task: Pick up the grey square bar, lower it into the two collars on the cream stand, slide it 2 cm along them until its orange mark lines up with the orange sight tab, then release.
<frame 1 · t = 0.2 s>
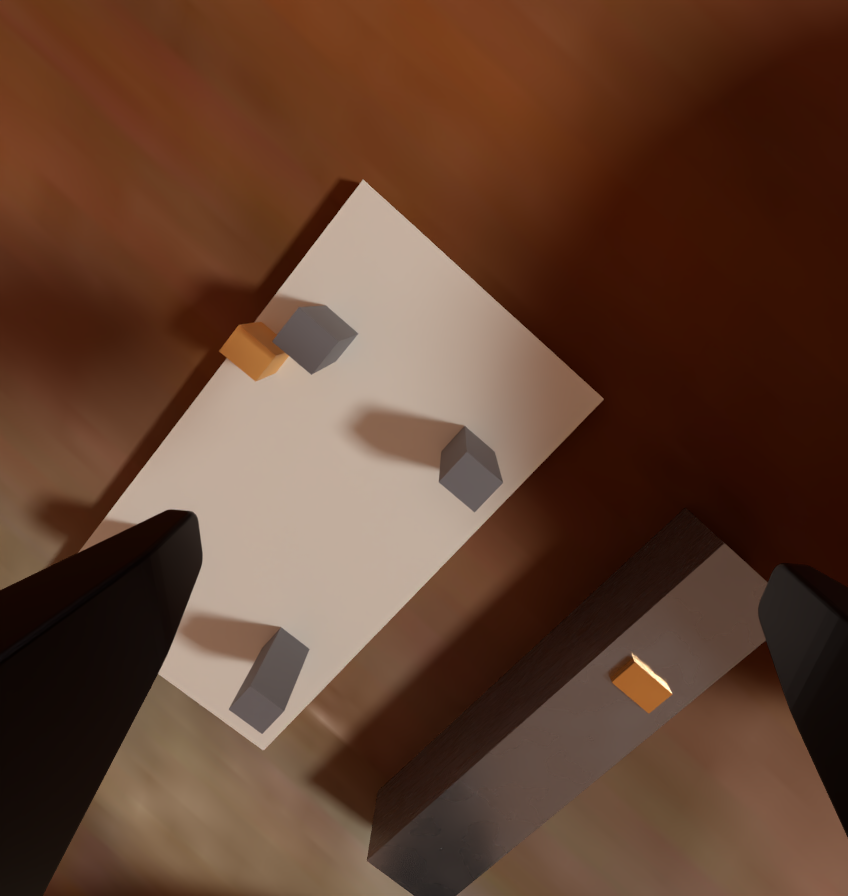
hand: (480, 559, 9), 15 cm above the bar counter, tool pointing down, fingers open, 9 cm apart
grey square bar: (549, 682, 27), on the bar counter
collar stand: (312, 494, 25), on the bar counter
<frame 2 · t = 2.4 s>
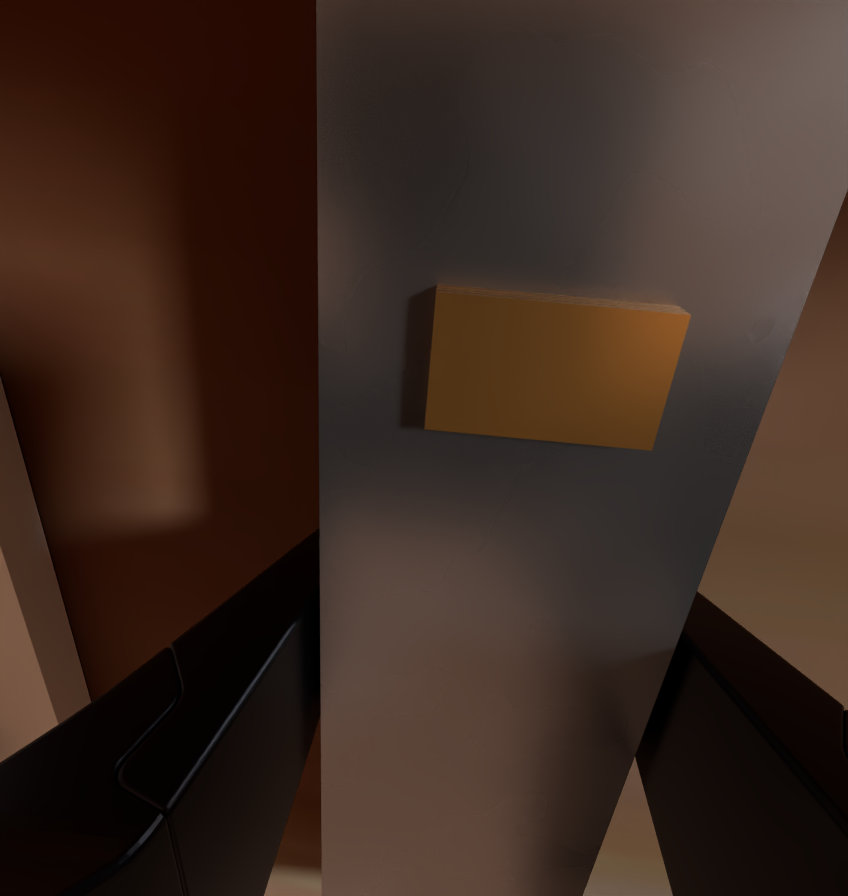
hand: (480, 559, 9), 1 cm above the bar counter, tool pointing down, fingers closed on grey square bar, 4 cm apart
grey square bar: (478, 502, 11), on the bar counter, touching gripper
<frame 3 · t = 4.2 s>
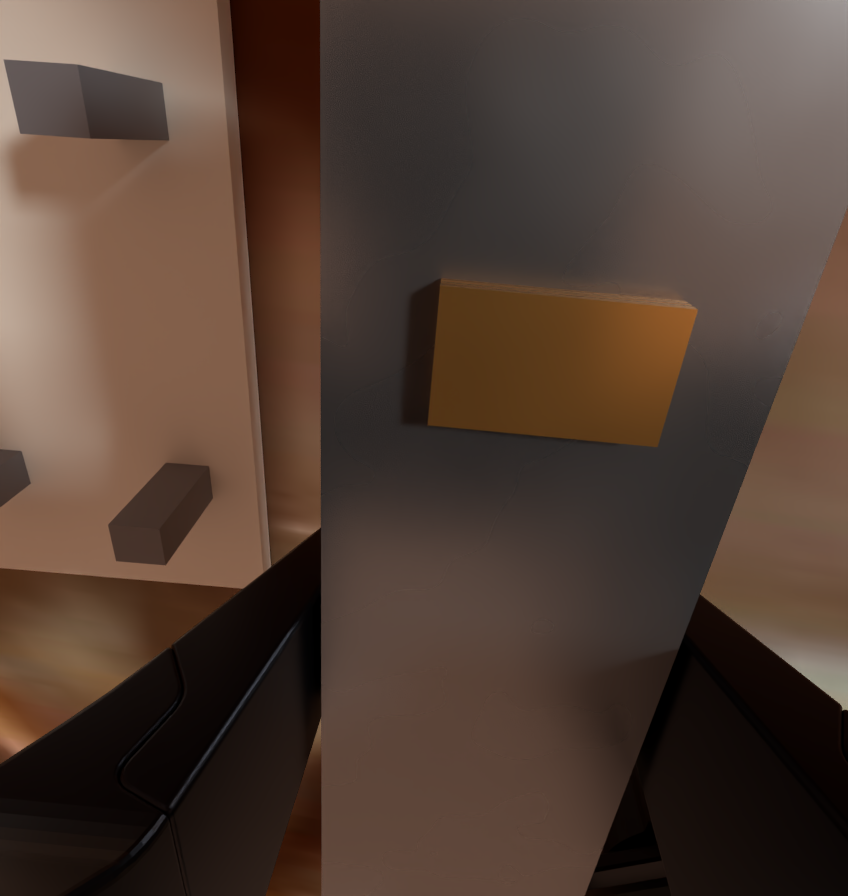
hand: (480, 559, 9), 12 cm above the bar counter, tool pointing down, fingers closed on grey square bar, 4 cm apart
grey square bar: (479, 501, 10), point 10 cm above the bar counter, touching gripper
collar stand: (79, 306, 20), on the bar counter
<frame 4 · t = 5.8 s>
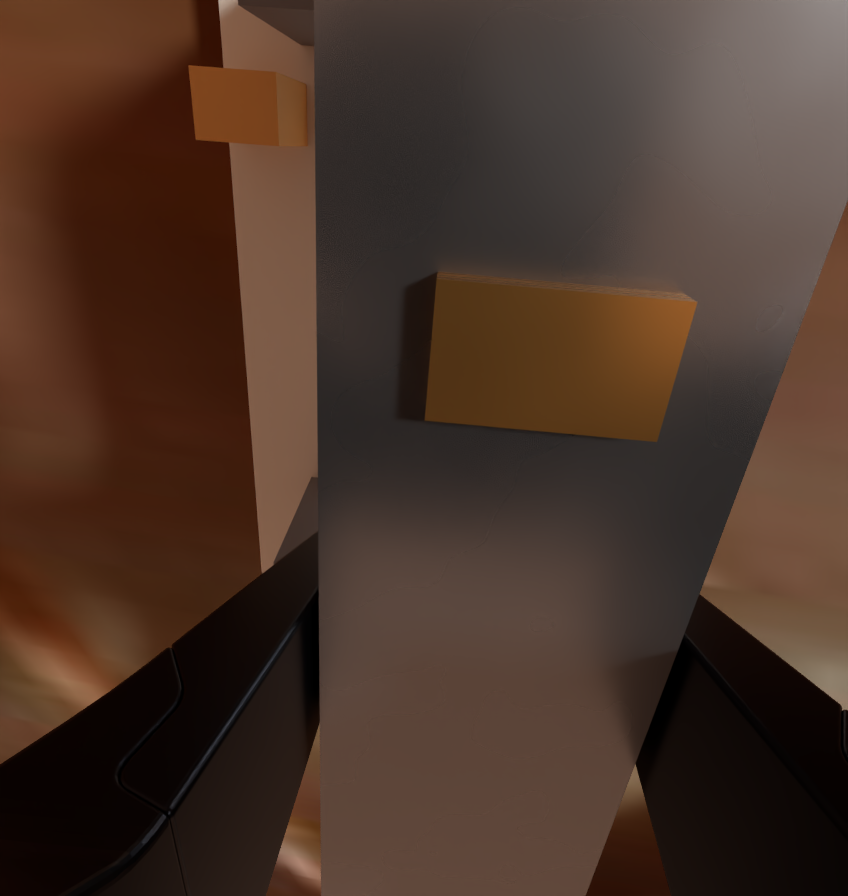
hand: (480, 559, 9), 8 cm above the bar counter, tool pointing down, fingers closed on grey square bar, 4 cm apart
grey square bar: (479, 499, 10), point 7 cm above the bar counter, touching gripper
collar stand: (475, 300, 16), on the bar counter
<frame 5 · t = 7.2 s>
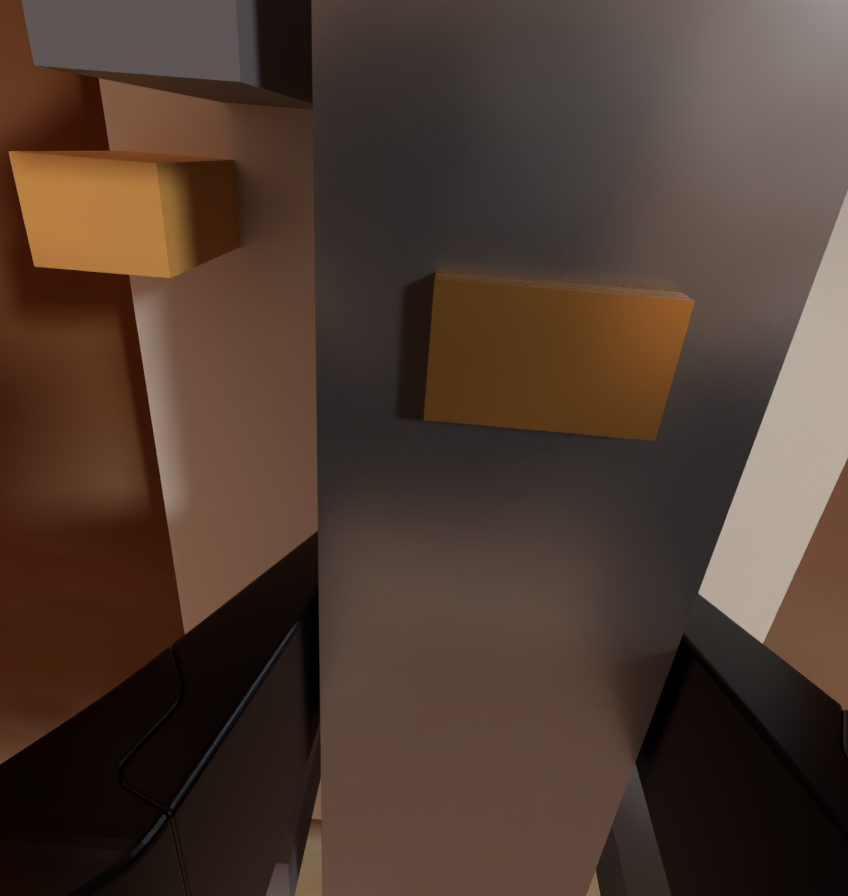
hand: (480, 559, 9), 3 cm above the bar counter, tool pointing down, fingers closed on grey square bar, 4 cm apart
grey square bar: (479, 498, 10), point 1 cm above the bar counter, touching gripper
collar stand: (486, 441, 11), on the bar counter
when the fingers open (3 cm above the bar counter, at t = 8.3 s): grey square bar stays where it is, resting on collar stand.
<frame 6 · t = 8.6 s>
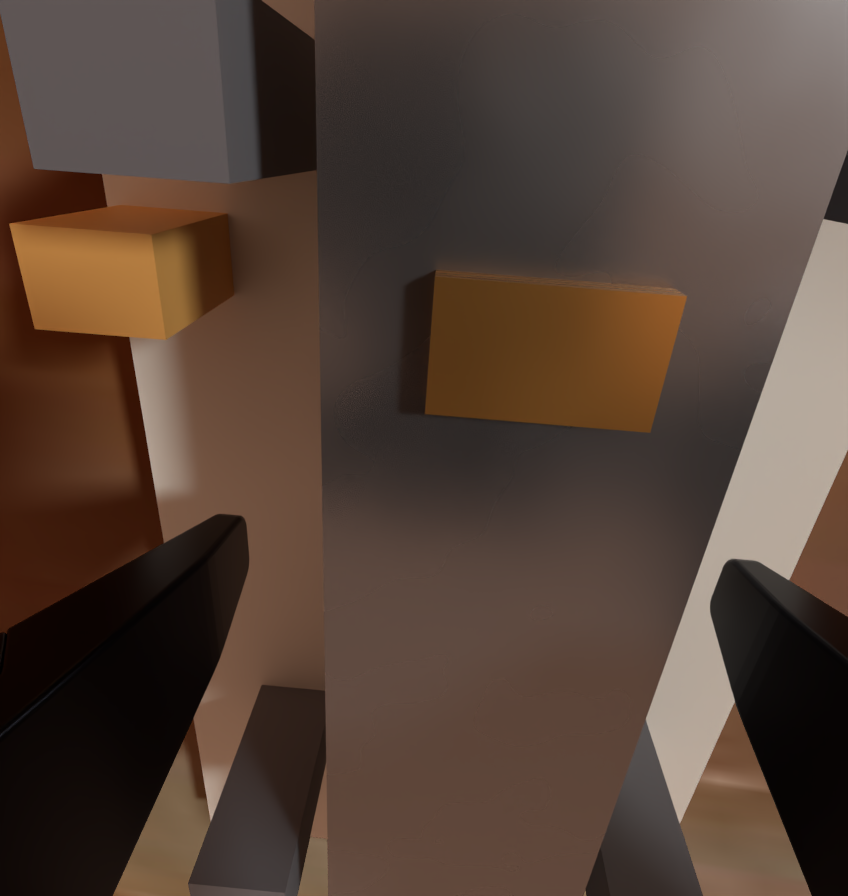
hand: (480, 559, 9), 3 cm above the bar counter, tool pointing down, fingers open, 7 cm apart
grey square bar: (480, 494, 11), point 1 cm above the bar counter, touching collar stand
collar stand: (477, 474, 12), on the bar counter
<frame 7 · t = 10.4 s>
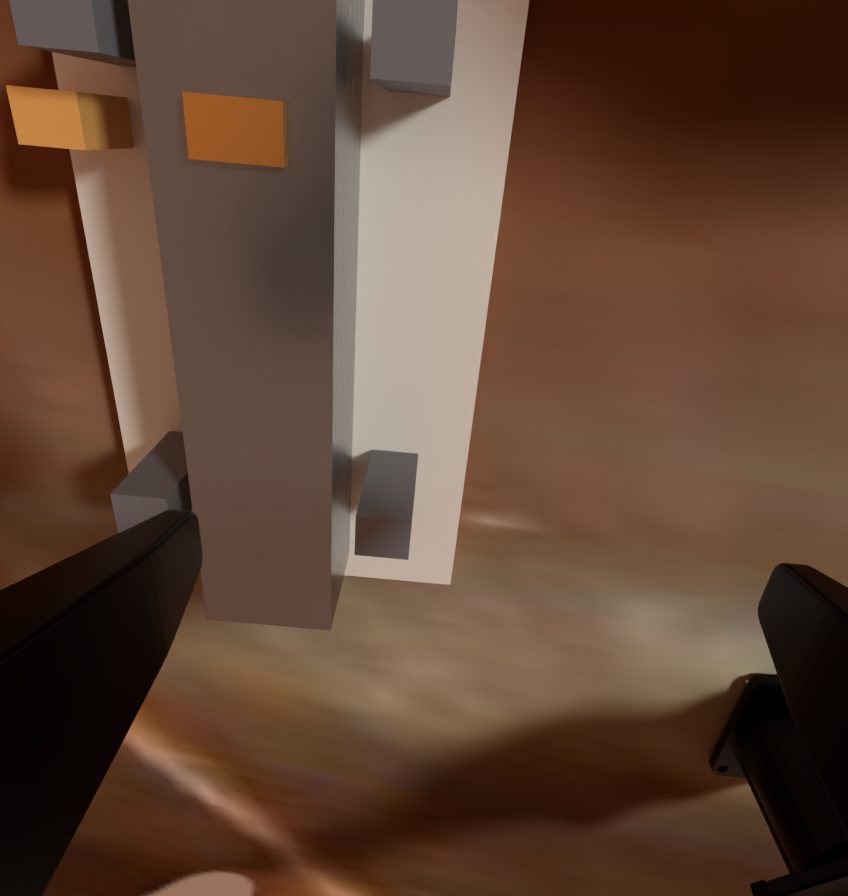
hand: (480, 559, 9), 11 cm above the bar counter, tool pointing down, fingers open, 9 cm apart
grey square bar: (290, 282, 18), point 1 cm above the bar counter, touching collar stand
collar stand: (297, 280, 19), on the bar counter
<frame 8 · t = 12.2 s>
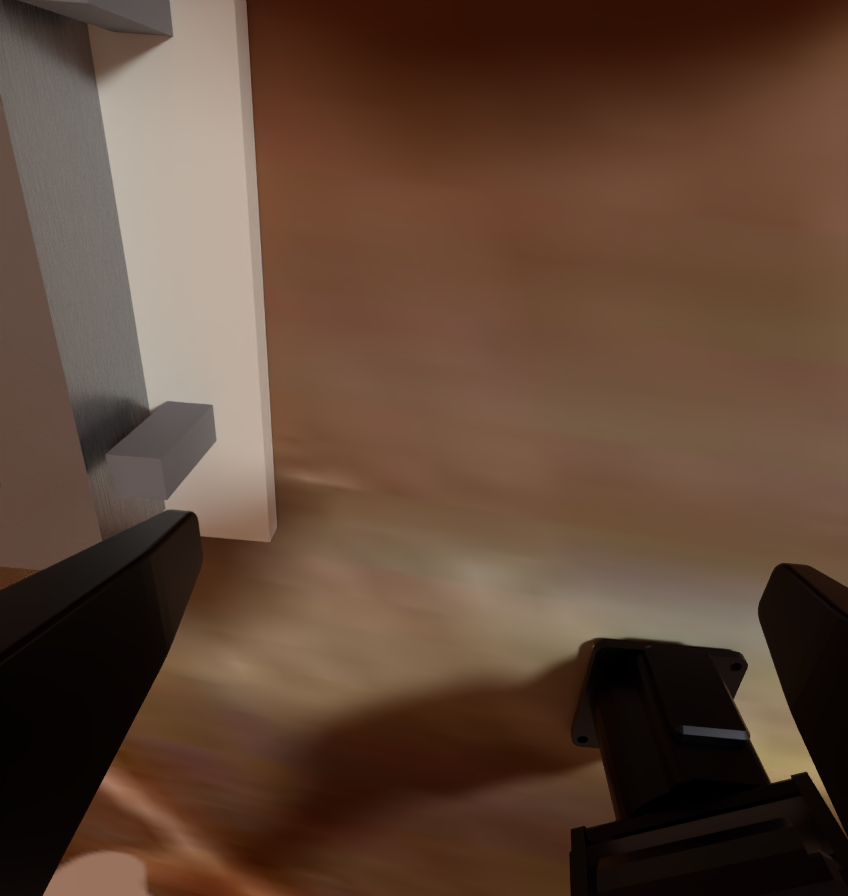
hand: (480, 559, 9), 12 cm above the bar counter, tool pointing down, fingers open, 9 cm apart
grey square bar: (56, 229, 18), point 1 cm above the bar counter, touching collar stand
collar stand: (76, 230, 19), on the bar counter
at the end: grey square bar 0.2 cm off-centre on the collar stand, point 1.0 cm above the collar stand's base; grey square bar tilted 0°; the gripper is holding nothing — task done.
